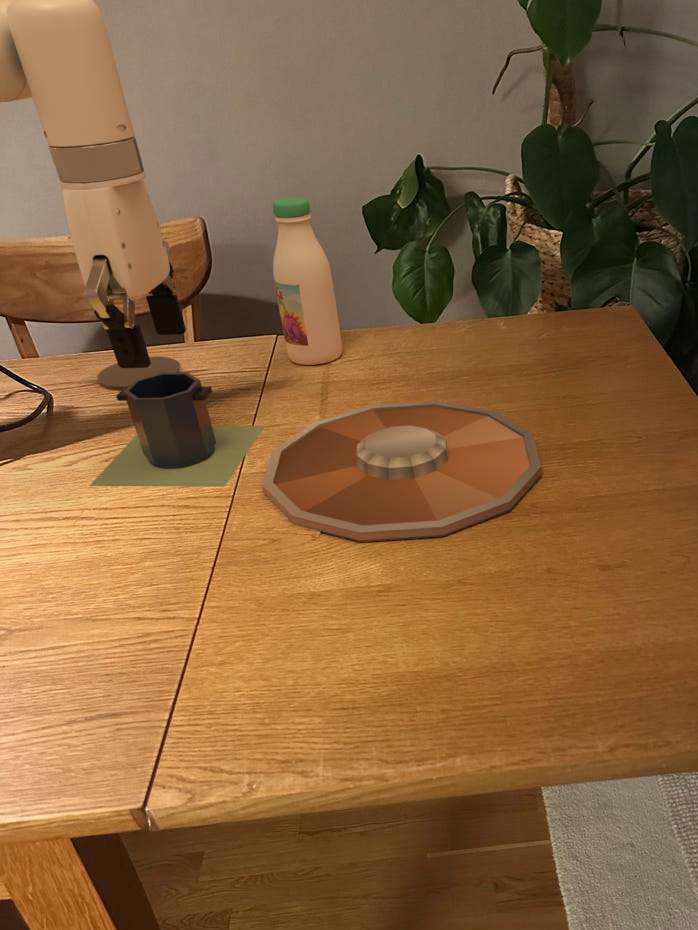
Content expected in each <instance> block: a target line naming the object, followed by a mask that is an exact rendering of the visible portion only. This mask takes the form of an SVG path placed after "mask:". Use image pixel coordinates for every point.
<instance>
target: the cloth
mask: <svg viewBox="0 0 698 930" xmlns="http://www.w3.org/2000/svg"><path fill="white" fill-rule="evenodd" d="M212 428H213V432H214V436H215V440H216V444H215V445H214V446H215V451H214V453H213V454H212V456H210V457H209V458H208V459H206V460H205V461H203V462H201V463H198V464H195V465H192V466H189V467H184V468H177V469H164V468H158V467H155V466H153V465H151V464H150V463H149V461H148V458H147V457H146V456H145V455H144V454H143V451H142V448H141V445H140V441H139V438H138V435H137V434H135V436H134V437H133V438H132V439H131V440H130V441H129V442H128V443H127V445H126V446H125V447H124V448H123V449H122V450H121V451H120V452H119V453H118V454H117V455H116V457H114V459H113V460H112V461H111V462H110V463H109V464H108V465H107V466H106V467H105V468H104V469H103V470H102V472H100V473H99V475H98V476H97V477H96V478H95V479H93V481H92V482H91V484H89V487H221V488H222V487H223V488H224V487H225V486H226V485H227V483H228V482H229V481H230V480H231V477H233V474H234V473H235V472H236V471H237V469H238V467H239V465H241V462H242V461H243V460H244V458H245V456H246V455H247V454H248V452H249V450H250V449H251V448H252V446H253V445H254V443H255V442H256V440H257V438H258V437H259V435H260V434H261V433H262V431H263V430H264V428H265V425H212Z"/></svg>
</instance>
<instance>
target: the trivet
mask: <svg viewBox="0 0 698 930" xmlns="http://www.w3.org/2000/svg"><path fill="white" fill-rule="evenodd" d="M149 358H150V362H151V364H150V366H148V367H147V368H121V367H119V365H118V363H117V362H116V363H113V364H111V365H109V366H107V367H104V369H102V370H101V371H100V372H99V373H97V376H96V380H97V383H98V385H99V387H101V388H103V389H106V390H111V391H118V392H121V391H122V390H123V389H124V388H125V387H129V386H130V385H131V384H132V383H133V382H134V381H135V380H139V379H142V378H146V377H149V376H153V375H156V374H160V373H183V372H182V365H181V363H180V362H179V361H178V360H177V359H175V358H172V357H166V356H149Z"/></svg>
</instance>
